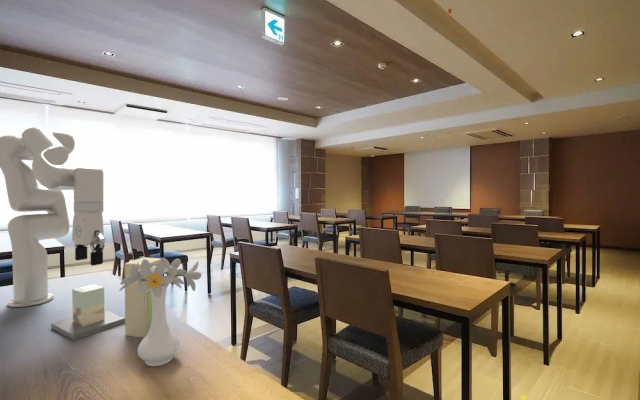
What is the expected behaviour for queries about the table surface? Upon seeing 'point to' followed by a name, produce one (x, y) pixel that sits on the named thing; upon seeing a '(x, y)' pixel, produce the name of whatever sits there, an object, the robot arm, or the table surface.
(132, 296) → the toy refrigerator
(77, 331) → the base plate
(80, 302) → the sage block
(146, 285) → the flower vase
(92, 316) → the birch block
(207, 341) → the table surface
